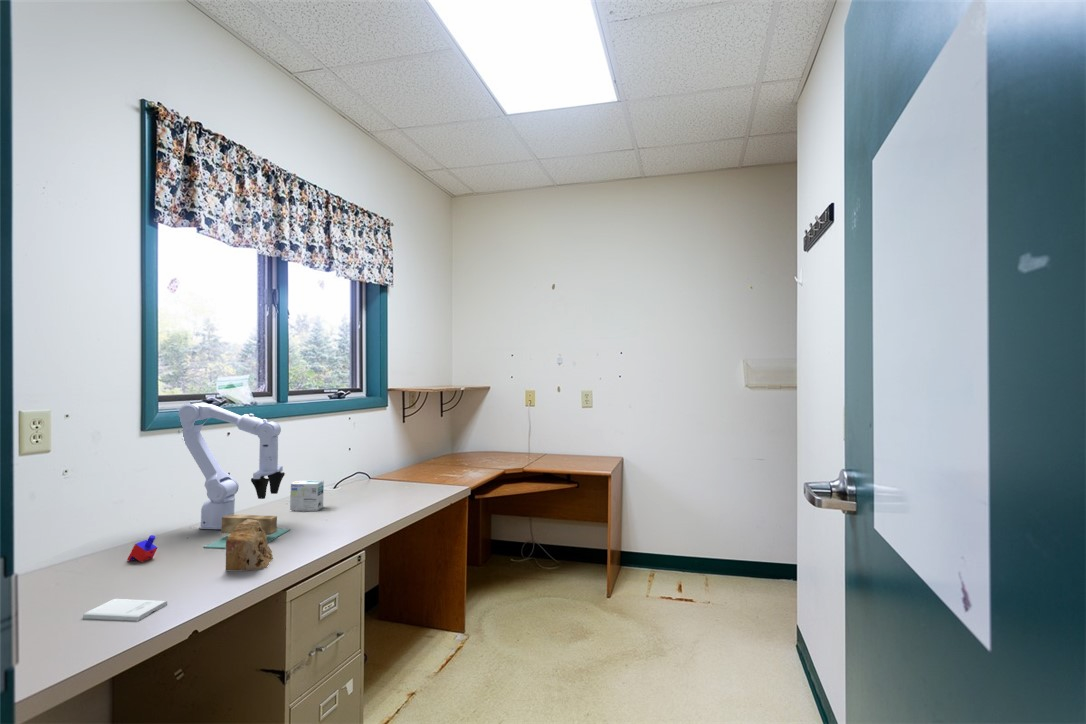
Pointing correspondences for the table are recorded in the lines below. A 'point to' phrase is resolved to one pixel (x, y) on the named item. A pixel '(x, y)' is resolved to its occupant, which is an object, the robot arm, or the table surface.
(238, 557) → the stone fragment
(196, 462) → the robot arm
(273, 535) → the board
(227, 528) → the bronze bar
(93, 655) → the table surface
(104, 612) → the external hard drive
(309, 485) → the light bulb box
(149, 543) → the red blue dreidel
